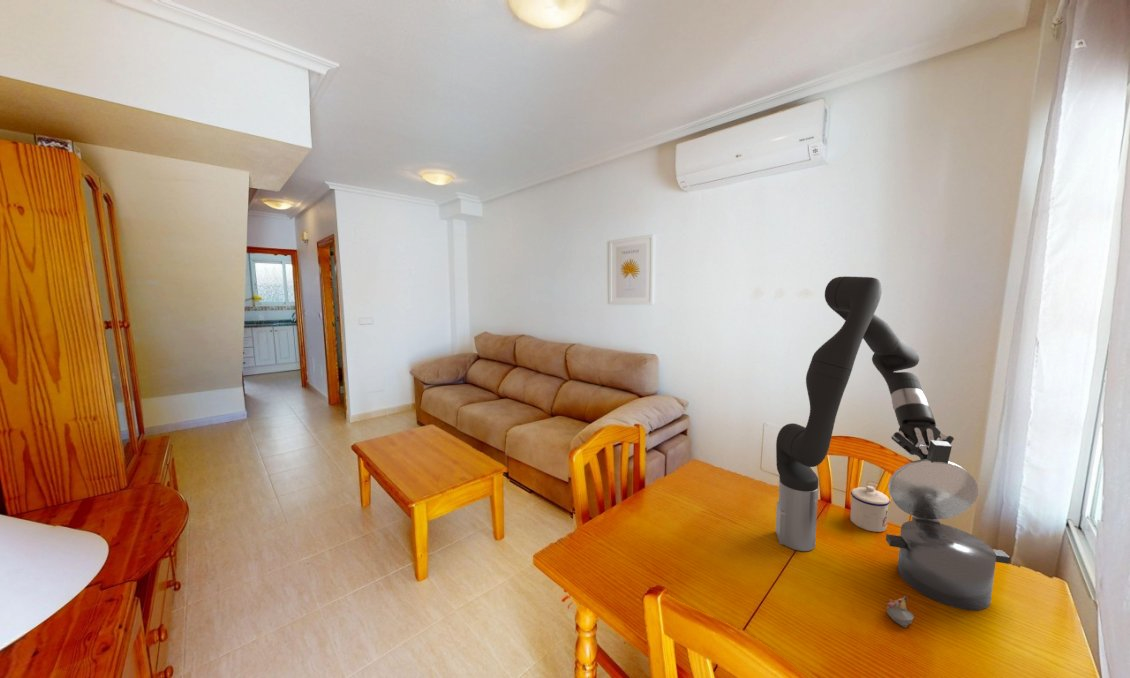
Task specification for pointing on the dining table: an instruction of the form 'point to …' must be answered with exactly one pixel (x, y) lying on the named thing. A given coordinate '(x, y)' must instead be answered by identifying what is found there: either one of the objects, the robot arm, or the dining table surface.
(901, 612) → the figurine
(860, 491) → the white lidded canister
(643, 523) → the dining table surface
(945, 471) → the lid
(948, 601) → the pot
